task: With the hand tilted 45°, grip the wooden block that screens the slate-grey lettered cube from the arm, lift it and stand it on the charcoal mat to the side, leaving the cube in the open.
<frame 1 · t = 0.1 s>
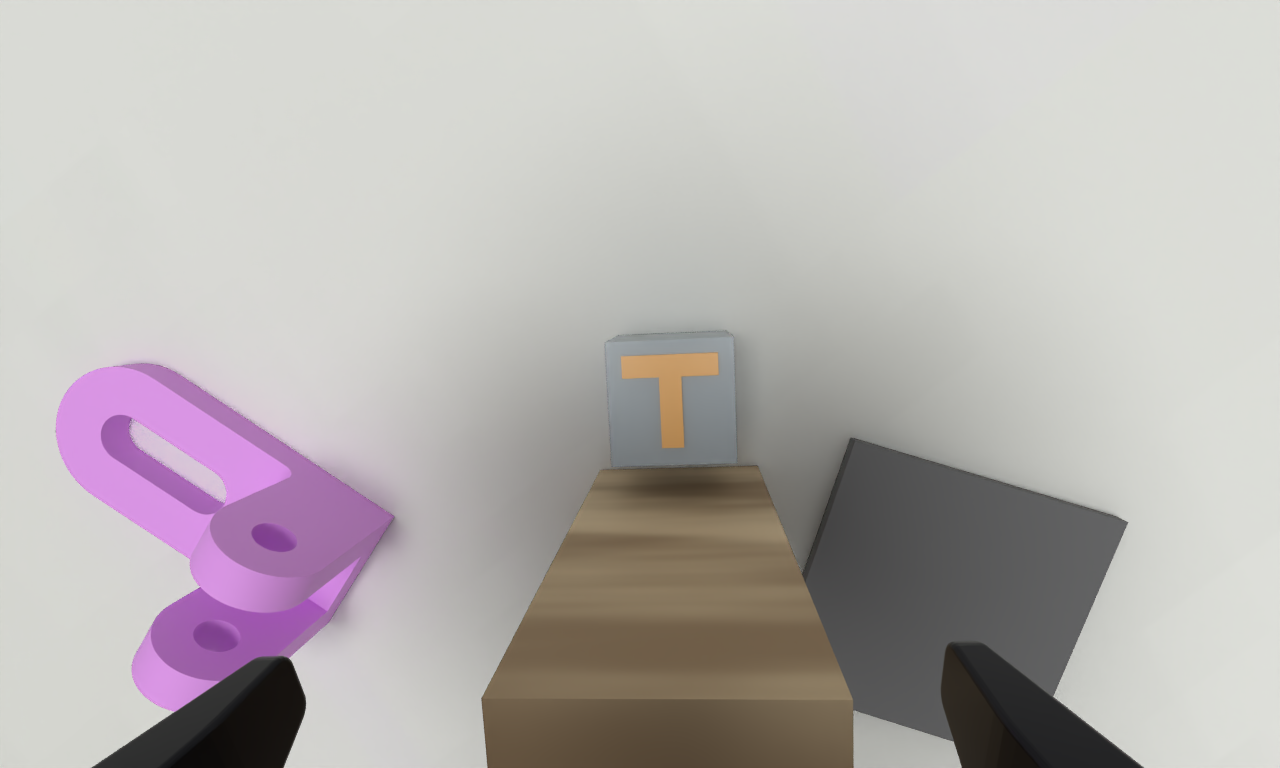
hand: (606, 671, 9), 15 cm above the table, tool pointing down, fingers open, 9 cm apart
wooden block: (679, 512, 24), on the table
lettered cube: (674, 385, 24), on the table
charcoal mat: (935, 598, 24), on the table
bracket: (233, 479, 26), on the table
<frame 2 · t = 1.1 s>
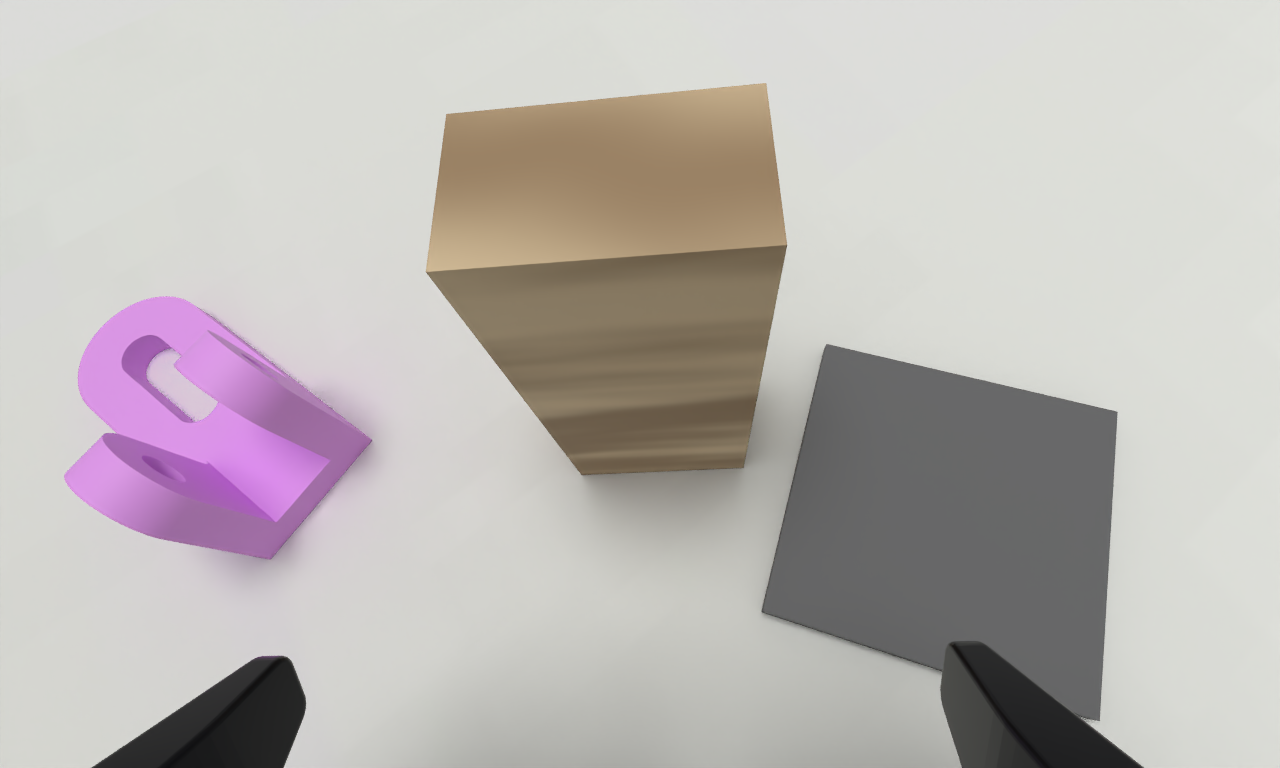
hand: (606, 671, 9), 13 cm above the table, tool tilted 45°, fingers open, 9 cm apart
wooden block: (660, 426, 24), on the table
charcoal mat: (939, 511, 22), on the table
bracket: (225, 414, 26), on the table
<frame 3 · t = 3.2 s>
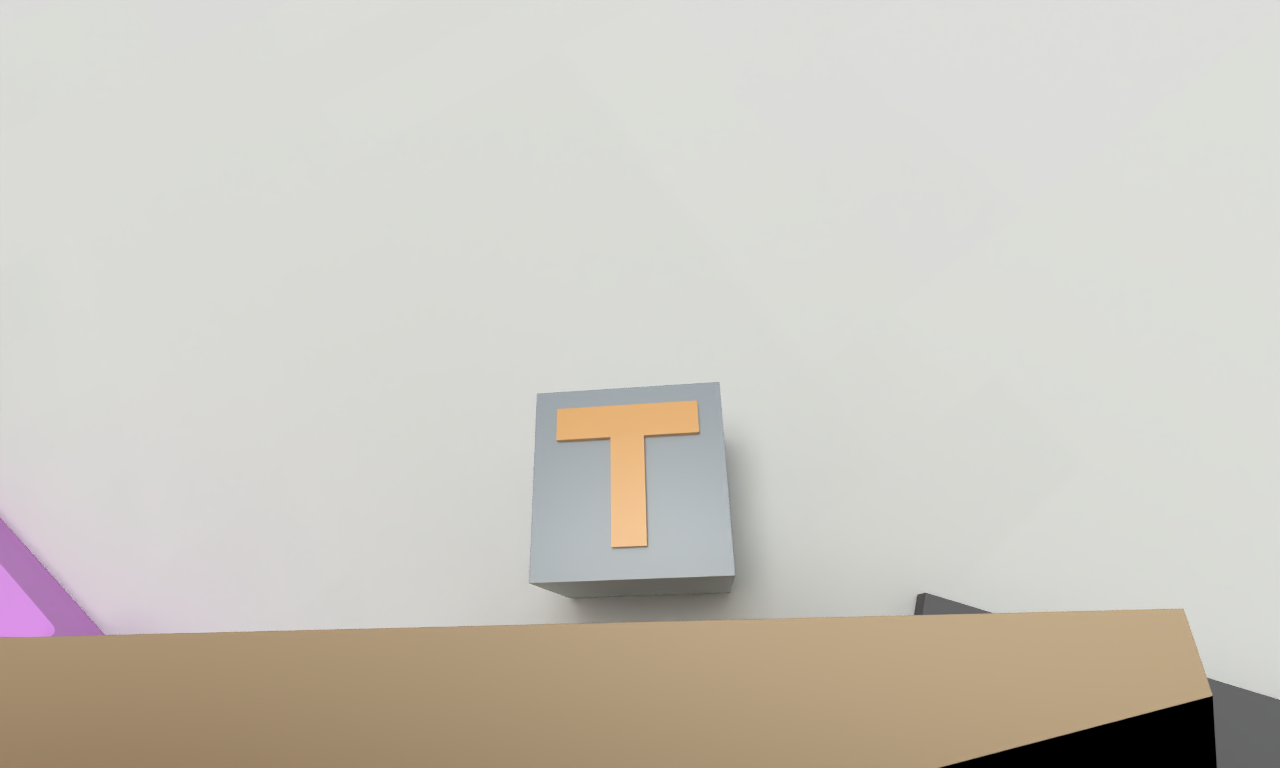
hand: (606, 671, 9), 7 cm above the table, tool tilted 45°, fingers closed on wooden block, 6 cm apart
wooden block: (652, 727, 15), on the table, touching gripper
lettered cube: (647, 515, 17), on the table
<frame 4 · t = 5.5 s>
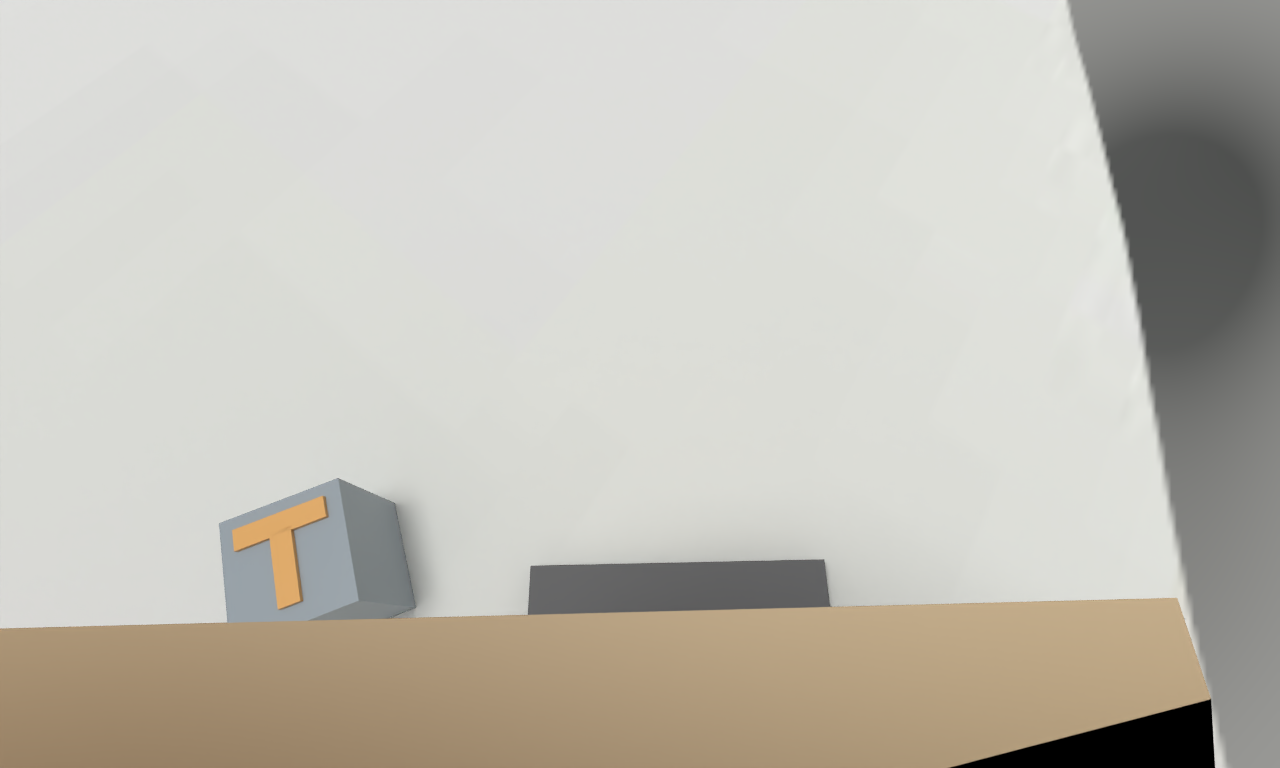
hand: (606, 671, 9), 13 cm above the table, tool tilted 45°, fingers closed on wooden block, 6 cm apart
wooden block: (652, 725, 15), point 6 cm above the table, touching gripper
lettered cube: (354, 573, 23), on the table
charcoal mat: (680, 726, 20), on the table
when the fingers open (9 cm above the table, at t = 7.5 s): wooden block stays where it is, resting on charcoal mat.
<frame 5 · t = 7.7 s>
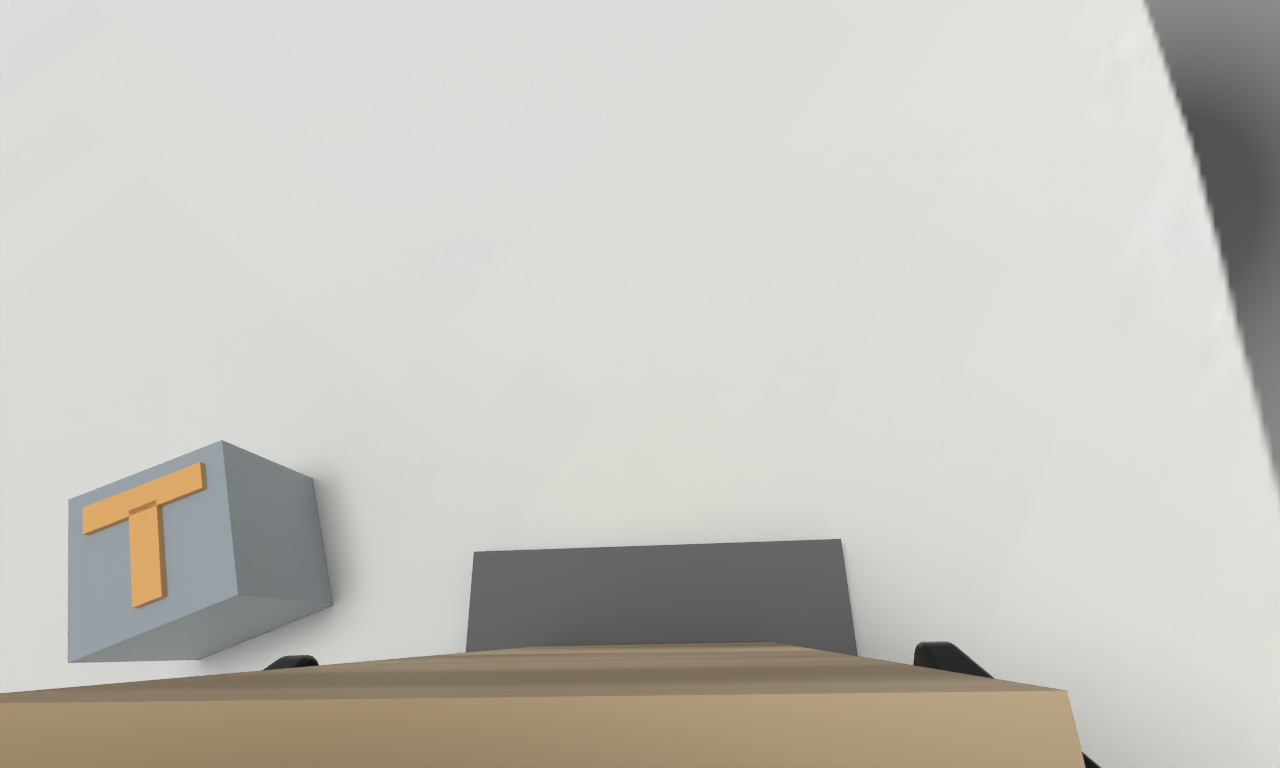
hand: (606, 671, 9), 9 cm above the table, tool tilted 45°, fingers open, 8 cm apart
wooden block: (654, 721, 15), point 1 cm above the table, touching charcoal mat
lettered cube: (259, 565, 19), on the table
charcoal mat: (660, 753, 16), on the table
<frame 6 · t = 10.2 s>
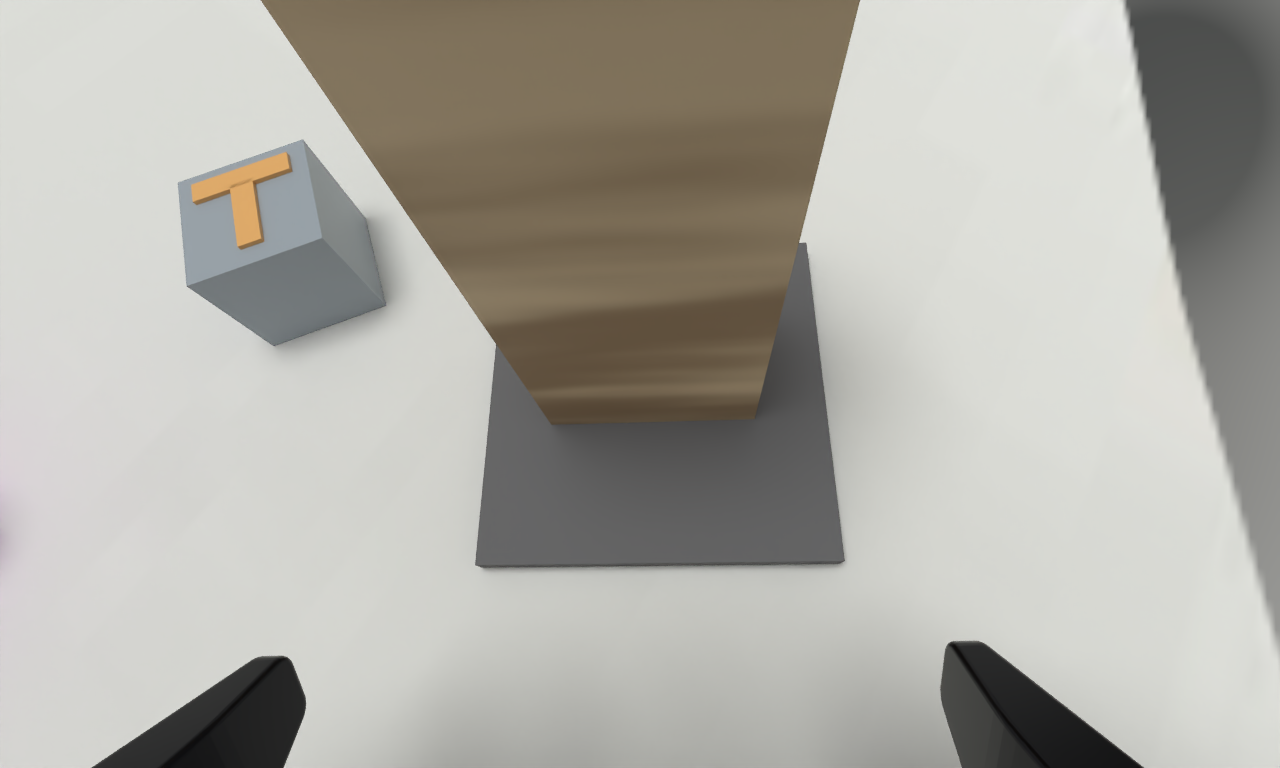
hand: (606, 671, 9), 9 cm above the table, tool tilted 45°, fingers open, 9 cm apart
wooden block: (651, 367, 19), point 1 cm above the table, touching charcoal mat
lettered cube: (322, 280, 22), on the table
charcoal mat: (655, 398, 19), on the table
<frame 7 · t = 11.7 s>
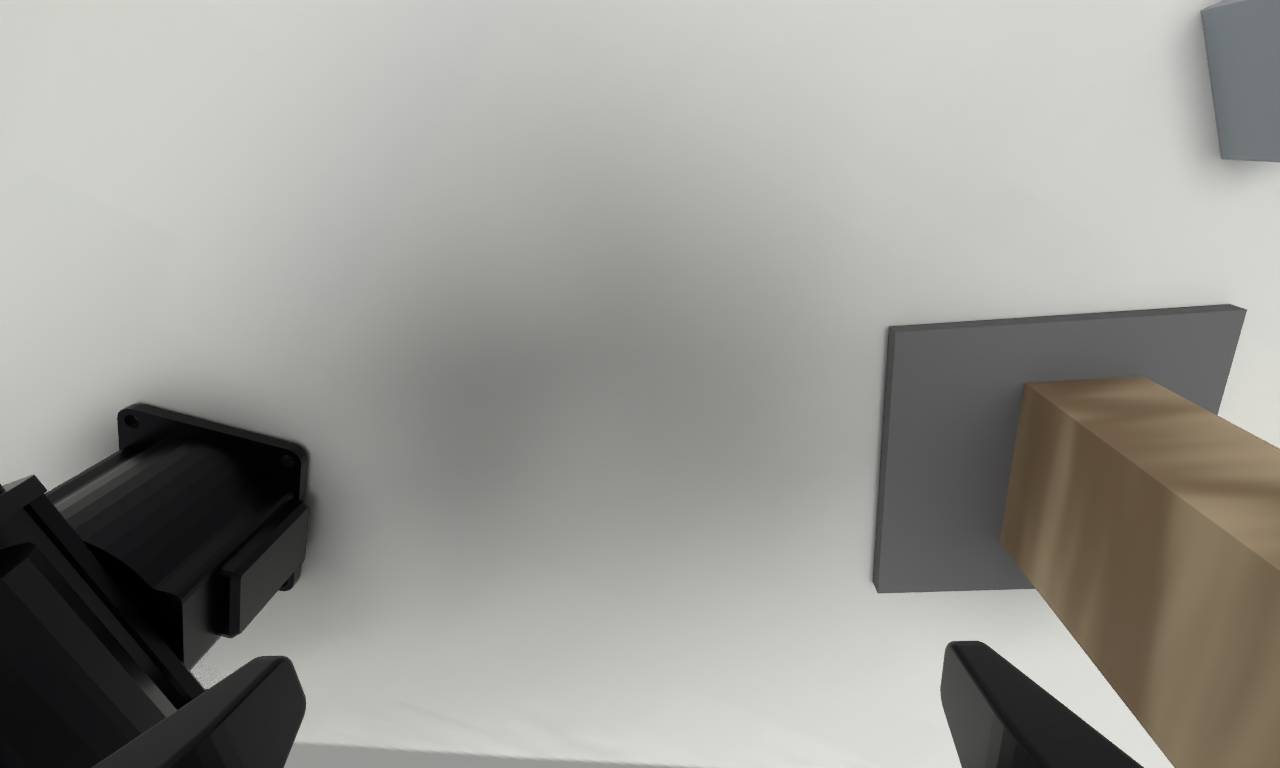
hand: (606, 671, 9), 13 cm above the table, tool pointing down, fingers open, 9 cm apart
wooden block: (1067, 464, 21), point 1 cm above the table, touching charcoal mat
charcoal mat: (1032, 458, 21), on the table
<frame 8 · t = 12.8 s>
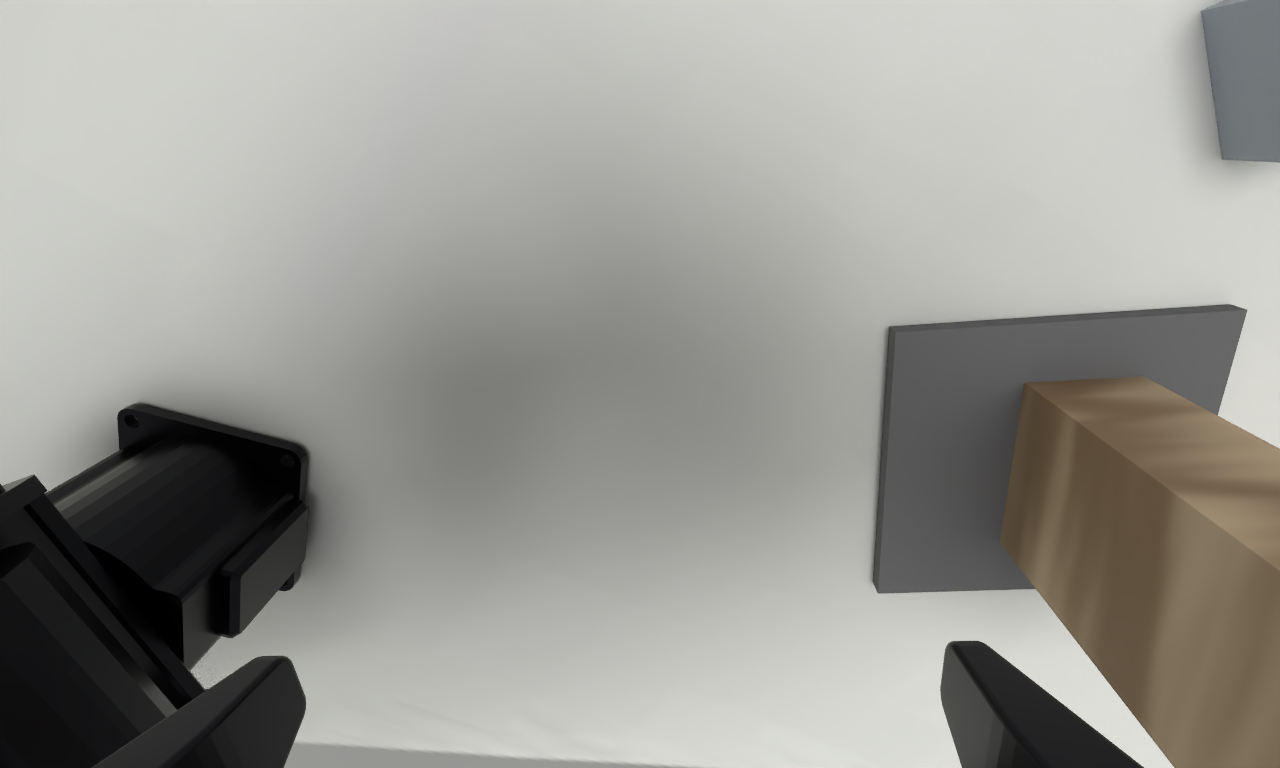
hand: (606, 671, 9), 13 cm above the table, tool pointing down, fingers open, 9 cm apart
wooden block: (1067, 464, 21), point 1 cm above the table, touching charcoal mat
charcoal mat: (1032, 458, 21), on the table
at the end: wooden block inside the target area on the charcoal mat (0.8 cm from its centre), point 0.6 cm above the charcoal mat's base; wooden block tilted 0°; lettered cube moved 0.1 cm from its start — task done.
